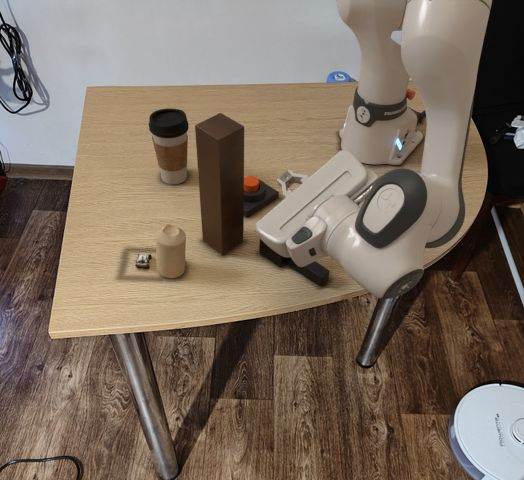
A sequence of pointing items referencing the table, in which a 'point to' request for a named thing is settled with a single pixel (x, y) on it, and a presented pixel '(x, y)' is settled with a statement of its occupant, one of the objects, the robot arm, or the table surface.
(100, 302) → the table surface
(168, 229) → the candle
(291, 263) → the black hammer
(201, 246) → the table surface
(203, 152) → the post
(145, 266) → the toy car
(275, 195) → the switch plate
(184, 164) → the coffee cup
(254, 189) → the switch button
